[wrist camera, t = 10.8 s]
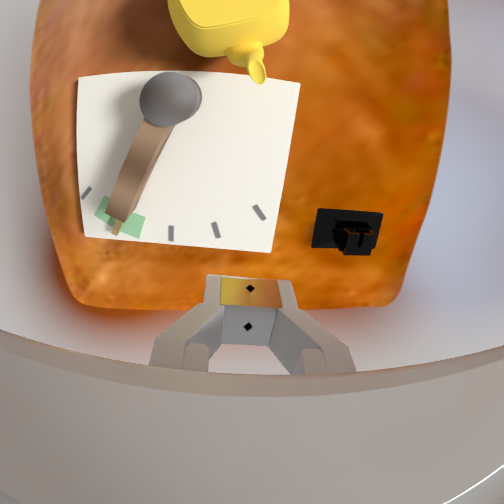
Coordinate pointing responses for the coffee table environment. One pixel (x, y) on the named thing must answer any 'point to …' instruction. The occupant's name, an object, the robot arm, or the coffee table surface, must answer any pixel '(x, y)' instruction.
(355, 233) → the black flanged block
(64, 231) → the coffee table surface
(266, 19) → the teapot
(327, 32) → the coffee table surface
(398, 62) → the coffee table surface
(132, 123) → the dial plate
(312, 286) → the coffee table surface
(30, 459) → the robot arm
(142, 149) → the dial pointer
